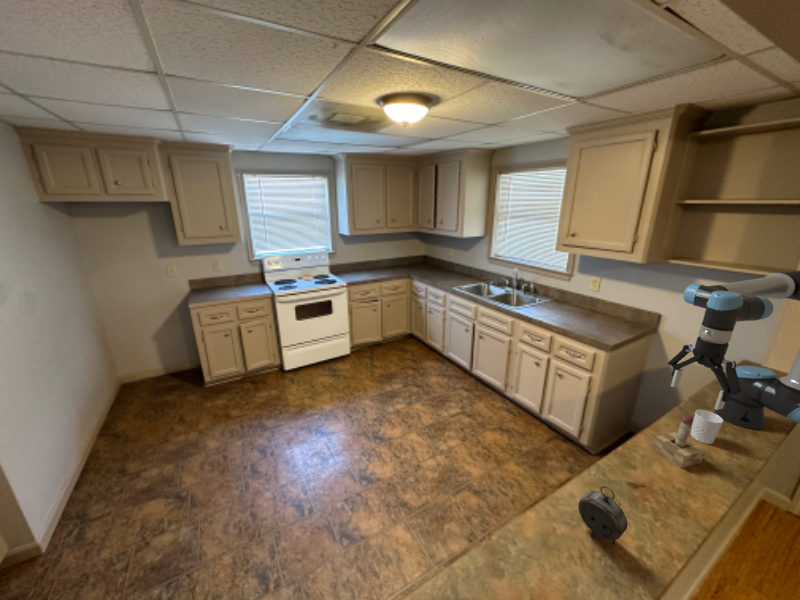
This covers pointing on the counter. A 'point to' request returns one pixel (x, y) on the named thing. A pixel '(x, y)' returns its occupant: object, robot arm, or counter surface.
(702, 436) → the white cup
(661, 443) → the bead block
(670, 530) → the counter surface
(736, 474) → the counter surface
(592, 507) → the alarm clock
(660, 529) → the counter surface
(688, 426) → the brown-tipped rod
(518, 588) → the counter surface
